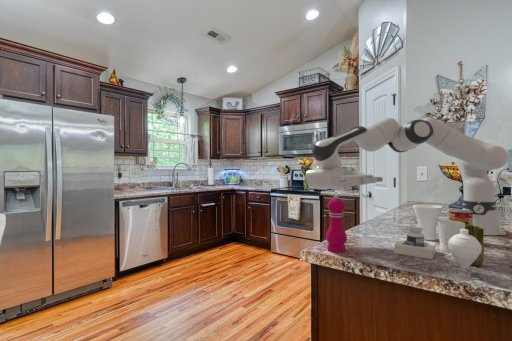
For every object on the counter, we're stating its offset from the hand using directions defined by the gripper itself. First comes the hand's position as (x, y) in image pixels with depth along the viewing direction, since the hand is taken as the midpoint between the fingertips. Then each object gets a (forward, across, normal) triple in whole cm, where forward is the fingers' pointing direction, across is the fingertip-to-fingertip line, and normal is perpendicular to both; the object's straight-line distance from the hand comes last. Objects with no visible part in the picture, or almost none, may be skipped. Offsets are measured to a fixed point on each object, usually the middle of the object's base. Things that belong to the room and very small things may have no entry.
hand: (379, 179), depth 107 cm
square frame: (+12, 0, +25) cm, 28 cm away
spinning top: (+26, -13, +25) cm, 38 cm away
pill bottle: (+12, 0, +25) cm, 28 cm away
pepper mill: (-11, -14, +25) cm, 31 cm away
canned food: (+24, +29, +25) cm, 45 cm away
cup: (+13, +24, +25) cm, 37 cm away
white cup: (+22, +10, +25) cm, 35 cm away
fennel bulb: (+28, -4, +25) cm, 38 cm away
